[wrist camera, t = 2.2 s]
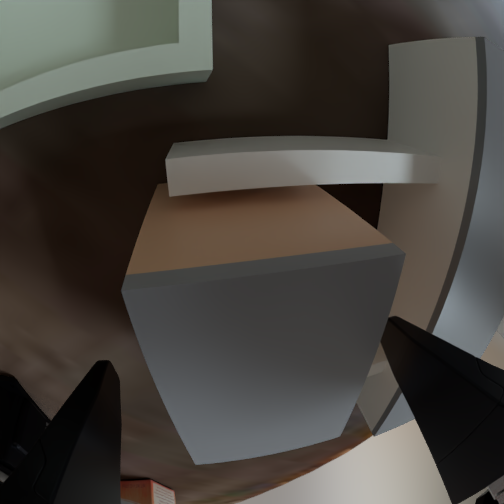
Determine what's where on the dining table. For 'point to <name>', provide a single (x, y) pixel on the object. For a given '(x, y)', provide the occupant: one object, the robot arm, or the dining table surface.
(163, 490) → the cracker box
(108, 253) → the dining table surface
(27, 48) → the tray
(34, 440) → the robot arm
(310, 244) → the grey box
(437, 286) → the grey forked piece
